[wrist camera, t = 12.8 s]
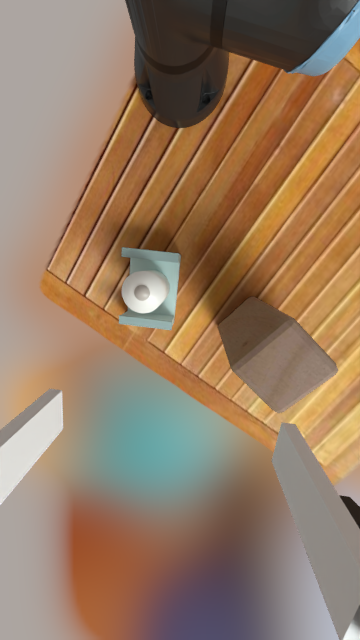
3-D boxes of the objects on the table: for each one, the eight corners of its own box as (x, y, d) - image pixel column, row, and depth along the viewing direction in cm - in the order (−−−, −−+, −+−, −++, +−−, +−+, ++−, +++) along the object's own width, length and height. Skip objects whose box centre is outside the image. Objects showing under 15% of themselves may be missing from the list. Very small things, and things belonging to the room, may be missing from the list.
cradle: (131, 249, 45) (122, 247, 39) (181, 255, 44) (179, 253, 38) (128, 316, 48) (118, 323, 42) (174, 322, 48) (171, 330, 42)
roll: (137, 268, 44) (121, 268, 35) (171, 272, 44) (164, 273, 35) (135, 302, 46) (120, 311, 37) (168, 306, 46) (160, 316, 37)
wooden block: (215, 326, 47) (227, 368, 28) (251, 293, 45) (292, 314, 25) (246, 357, 48) (279, 419, 29) (283, 327, 46) (345, 372, 27)
